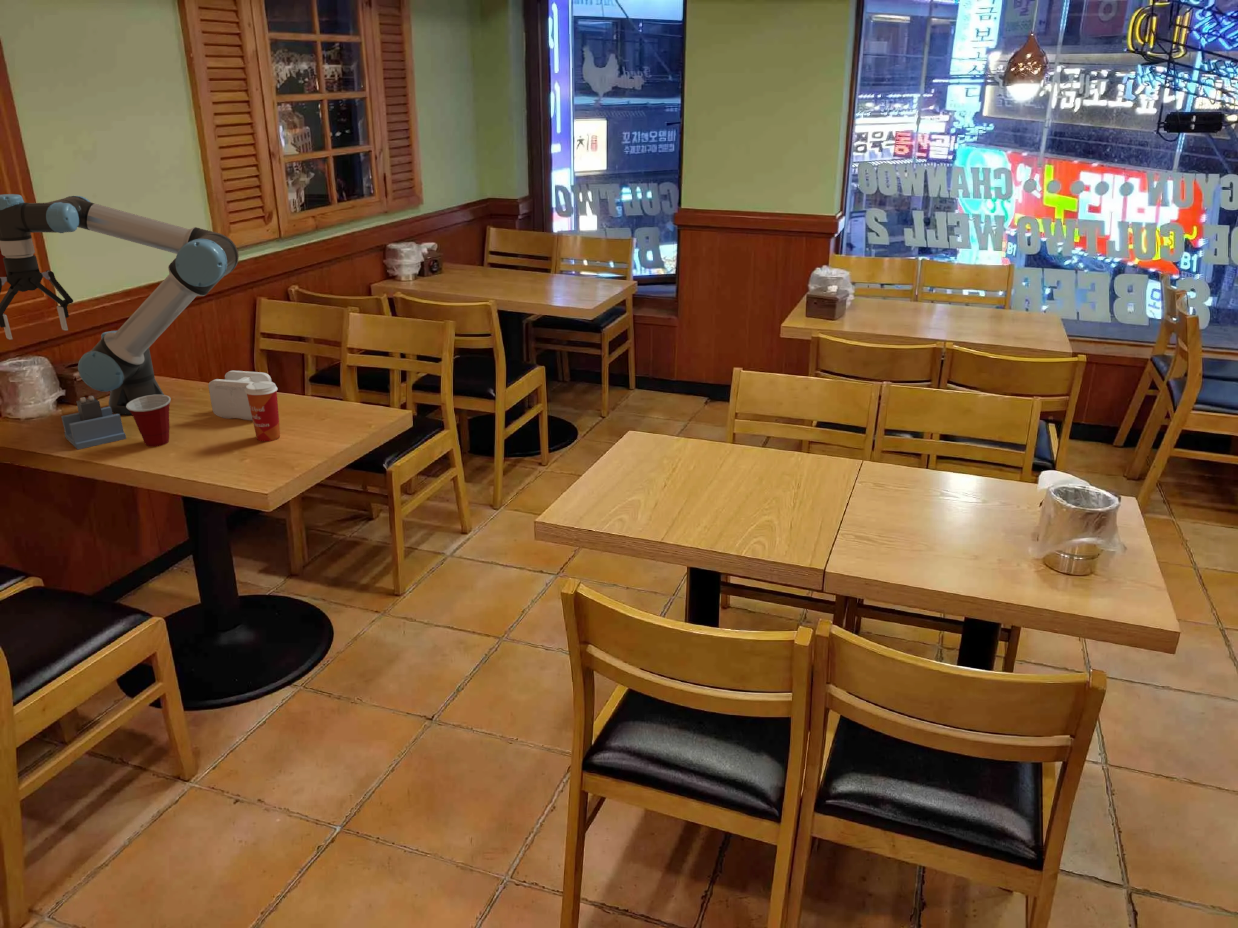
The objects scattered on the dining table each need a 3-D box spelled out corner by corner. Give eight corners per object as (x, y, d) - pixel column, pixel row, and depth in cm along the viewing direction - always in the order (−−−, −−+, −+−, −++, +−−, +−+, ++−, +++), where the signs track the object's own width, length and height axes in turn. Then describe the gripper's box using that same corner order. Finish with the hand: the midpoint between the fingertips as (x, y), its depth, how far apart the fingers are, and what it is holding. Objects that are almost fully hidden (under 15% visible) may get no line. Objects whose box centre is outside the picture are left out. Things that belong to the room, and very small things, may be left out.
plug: (101, 428, 253) (93, 393, 249) (106, 433, 249) (98, 397, 246) (83, 432, 250) (75, 397, 246) (88, 437, 247) (79, 401, 243)
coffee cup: (247, 437, 251) (238, 385, 245) (275, 430, 256) (267, 378, 251) (262, 445, 246) (253, 392, 240) (290, 437, 251) (283, 385, 245)
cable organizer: (278, 410, 272) (273, 372, 268) (259, 422, 262) (253, 383, 258) (233, 407, 275) (226, 369, 270) (211, 418, 265) (205, 380, 261)
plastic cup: (125, 448, 243) (115, 405, 239) (153, 434, 253) (145, 393, 248) (160, 452, 241) (151, 409, 236) (187, 438, 250) (179, 396, 246)
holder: (112, 427, 258) (108, 405, 255) (126, 438, 250) (121, 416, 247) (65, 437, 250) (59, 415, 248) (77, 449, 242) (72, 426, 240)
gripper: (65, 248, 253) (82, 324, 261) (-41, 259, 237) (-19, 339, 245) (75, 251, 249) (91, 328, 257) (-32, 263, 232) (-11, 345, 240)
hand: (37, 334), depth 251 cm, fingers open, 13 cm apart
